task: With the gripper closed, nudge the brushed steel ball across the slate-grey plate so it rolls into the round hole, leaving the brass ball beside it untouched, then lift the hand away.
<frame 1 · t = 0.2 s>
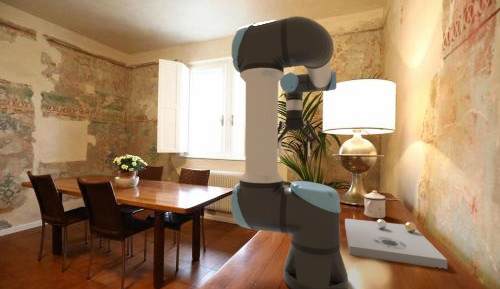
hand: (294, 156, 107), 28 cm above the table, tool pointing down, fingers open, 13 cm apart
teacup with lid: (373, 216, 108), on the table
plate: (384, 241, 79), on the table
steel ball: (381, 224, 84), point 4 cm above the table, touching plate
brass ball: (410, 227, 81), point 4 cm above the table, touching plate
kitchen timer: (318, 215, 109), on the table
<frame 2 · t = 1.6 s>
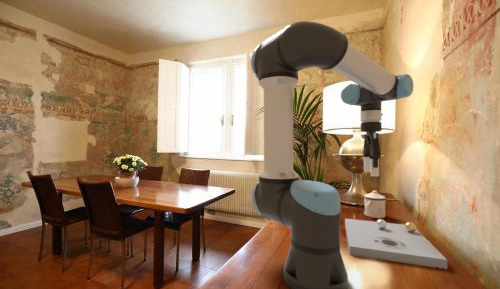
hand: (370, 174, 94), 21 cm above the table, tool pointing down, fingers open, 13 cm apart
nothing on the table moved.
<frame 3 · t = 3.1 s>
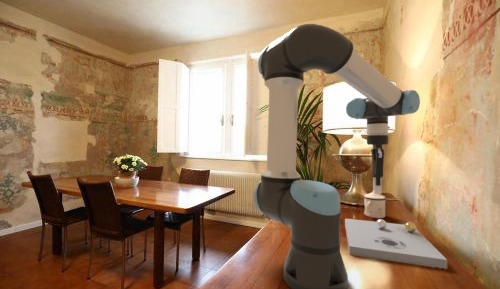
hand: (377, 193, 93), 14 cm above the table, tool pointing down, fingers closed
nothing on the table moved.
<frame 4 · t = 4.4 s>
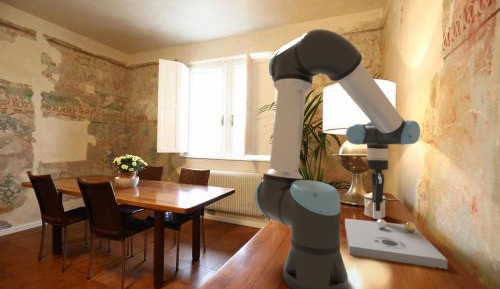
hand: (377, 218, 92), 4 cm above the table, tool pointing down, fingers closed
nothing on the table moved.
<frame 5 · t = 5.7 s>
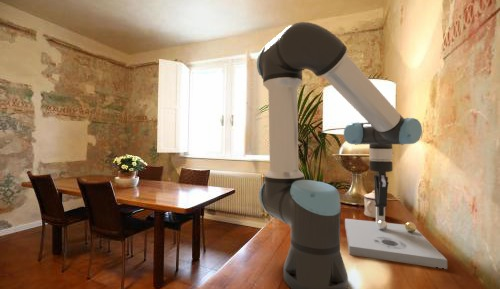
hand: (380, 223, 86), 4 cm above the table, tool pointing down, fingers closed
steel ball: (382, 224, 83), point 4 cm above the table, tilted 33°, touching gripper, plate
everything else where it was.
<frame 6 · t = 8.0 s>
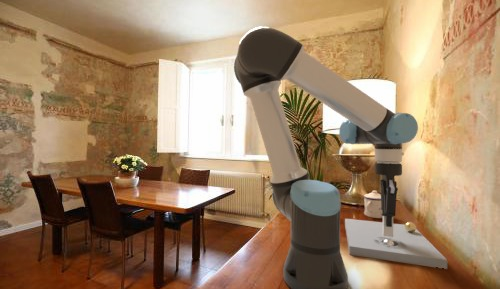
hand: (387, 235, 74), 4 cm above the table, tool pointing down, fingers closed
steel ball: (388, 244, 73), point 2 cm above the table, tilted 28°
everything else where it was.
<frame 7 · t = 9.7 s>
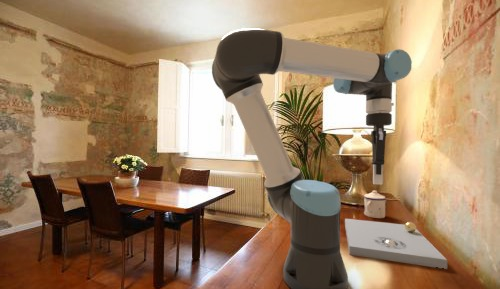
hand: (377, 184, 77), 20 cm above the table, tool pointing down, fingers closed
steel ball: (389, 245, 72), point 2 cm above the table, tilted 42°
everything else where it was.
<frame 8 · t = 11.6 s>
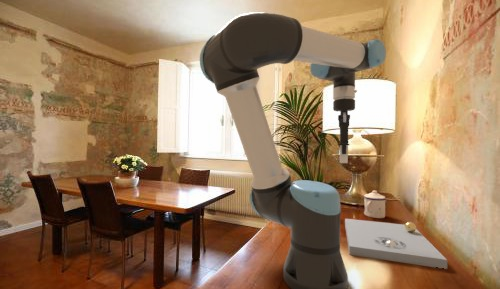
hand: (343, 162, 86), 26 cm above the table, tool pointing down, fingers closed
steel ball: (390, 246, 72), point 2 cm above the table, tilted 56°
everything else where it was.
at the end: steel ball 0.5 cm from the target spot on the plate, point 1.7 cm above the plate's base; brass ball moved 0.1 cm from its start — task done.
